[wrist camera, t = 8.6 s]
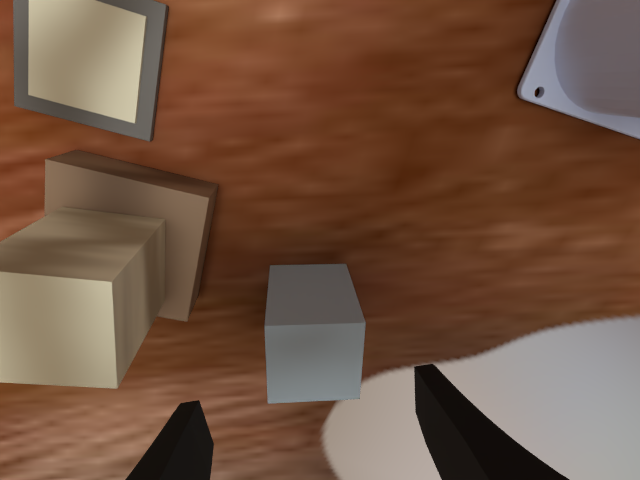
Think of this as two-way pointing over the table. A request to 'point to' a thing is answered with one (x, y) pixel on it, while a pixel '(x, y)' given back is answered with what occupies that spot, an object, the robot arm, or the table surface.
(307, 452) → the table surface
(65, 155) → the walnut block
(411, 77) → the table surface
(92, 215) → the maple block
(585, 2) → the robot arm
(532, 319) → the table surface
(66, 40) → the swatch tile
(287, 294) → the slate block
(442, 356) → the table surface
